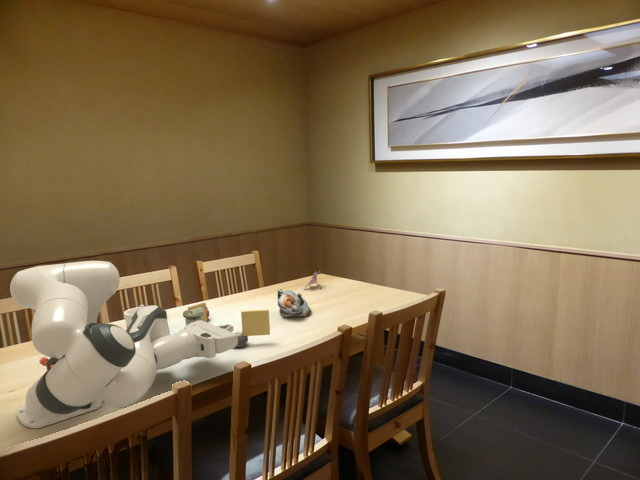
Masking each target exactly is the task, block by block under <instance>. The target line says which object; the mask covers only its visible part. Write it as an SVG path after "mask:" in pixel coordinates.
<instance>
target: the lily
mask: <svg viewBox="0 0 640 480" xmlns="http://www.w3.org/2000/svg"><path fill="white" fill-rule="evenodd" d="M320 272H321V270H319V271H318V272H317V271H315V272H314V273H313V274H312V276H311V279H310V281H309V282H308V283H307V284H306V285H305V287H304V289H303V290H305V289H306V288H307V287H308V286H309V287H311V285H313V284H317V285H318V286H319V288H320V289H322V287H321V286H320V284H319V283H318V281H317V277H318V275H319V273H320Z"/></svg>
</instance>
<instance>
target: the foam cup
mask: <svg viewBox="0 0 640 480" xmlns="http://www.w3.org/2000/svg"><path fill="white" fill-rule="evenodd" d="M141 308H143V307H139V306H137V307H133V308H130V309H127V310H124V312H123V314H124V315H123V316H124V320H125V324H126V323H127V324H126V328H127V327H129V325H130V324H131V322H132V317H133V315H134V313H135V312H136V311H137V310H139V309H141Z"/></svg>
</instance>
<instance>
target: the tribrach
mask: <svg viewBox="0 0 640 480" xmlns="http://www.w3.org/2000/svg"><path fill="white" fill-rule="evenodd" d="M206 307H207V303H206V302H201V303H198V304H194V305H192V306H188V307H187V309H186V310H184V311H183V312H182V317H183V318H185V326H186V325H188V324H190V323H193V322H195V321H199V320H202V321H205V322H207V323H208V319H207V312H206ZM245 346H246V343H245V344H241V345H237V346H236V347H234V348H233V349H241V348H244V347H245Z"/></svg>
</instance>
